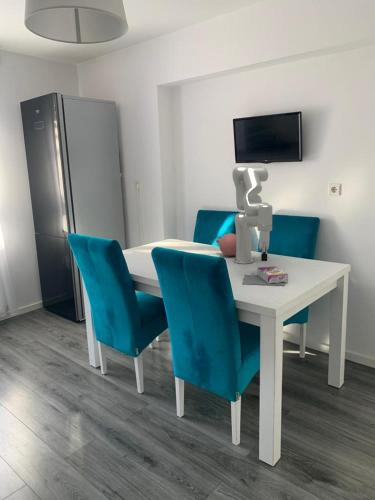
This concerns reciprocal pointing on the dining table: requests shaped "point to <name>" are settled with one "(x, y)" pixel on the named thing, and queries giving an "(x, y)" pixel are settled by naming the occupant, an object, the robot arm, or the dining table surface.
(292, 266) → the dining table surface
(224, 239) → the balloon
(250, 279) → the rubber mat
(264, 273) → the candy bar box
